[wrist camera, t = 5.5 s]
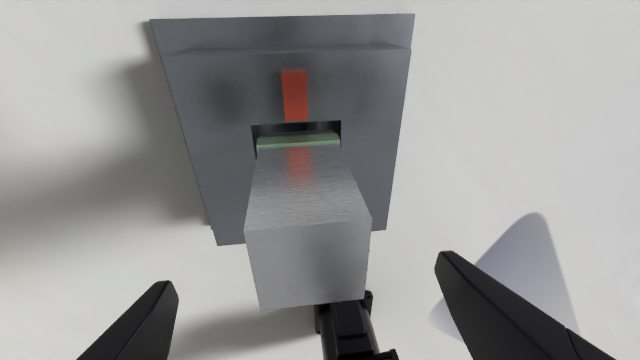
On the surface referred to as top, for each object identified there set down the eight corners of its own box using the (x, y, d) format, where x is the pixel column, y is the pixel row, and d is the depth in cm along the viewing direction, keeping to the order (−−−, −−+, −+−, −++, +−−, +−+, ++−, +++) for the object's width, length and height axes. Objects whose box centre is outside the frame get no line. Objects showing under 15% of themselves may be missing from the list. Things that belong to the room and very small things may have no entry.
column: (333, 189, 18) (366, 300, 11) (267, 195, 17) (258, 312, 10) (334, 127, 15) (375, 216, 9) (258, 131, 15) (239, 228, 8)
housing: (384, 208, 25) (405, 248, 20) (213, 223, 23) (198, 269, 19) (409, 13, 17) (453, 13, 13) (155, 19, 15) (106, 20, 11)
